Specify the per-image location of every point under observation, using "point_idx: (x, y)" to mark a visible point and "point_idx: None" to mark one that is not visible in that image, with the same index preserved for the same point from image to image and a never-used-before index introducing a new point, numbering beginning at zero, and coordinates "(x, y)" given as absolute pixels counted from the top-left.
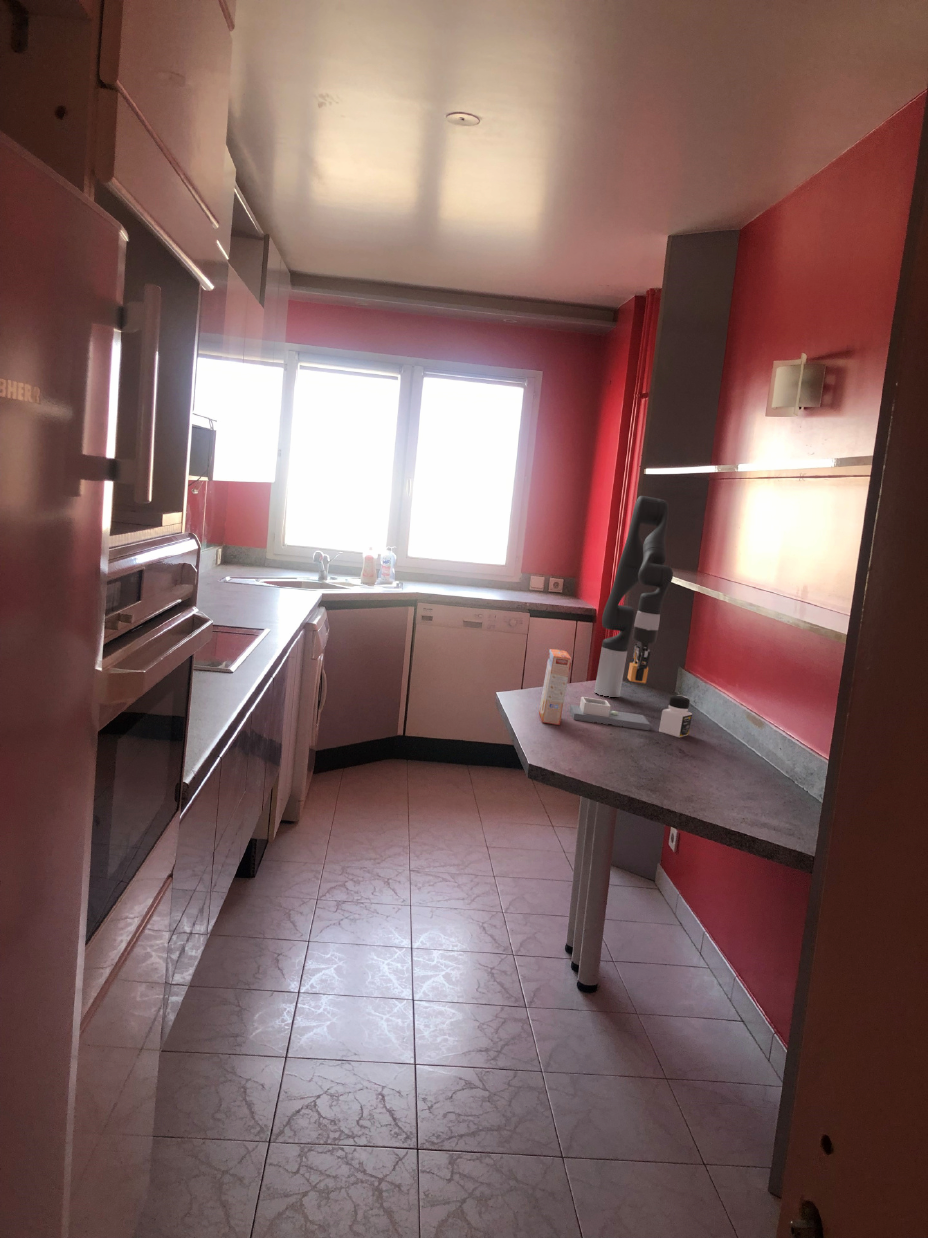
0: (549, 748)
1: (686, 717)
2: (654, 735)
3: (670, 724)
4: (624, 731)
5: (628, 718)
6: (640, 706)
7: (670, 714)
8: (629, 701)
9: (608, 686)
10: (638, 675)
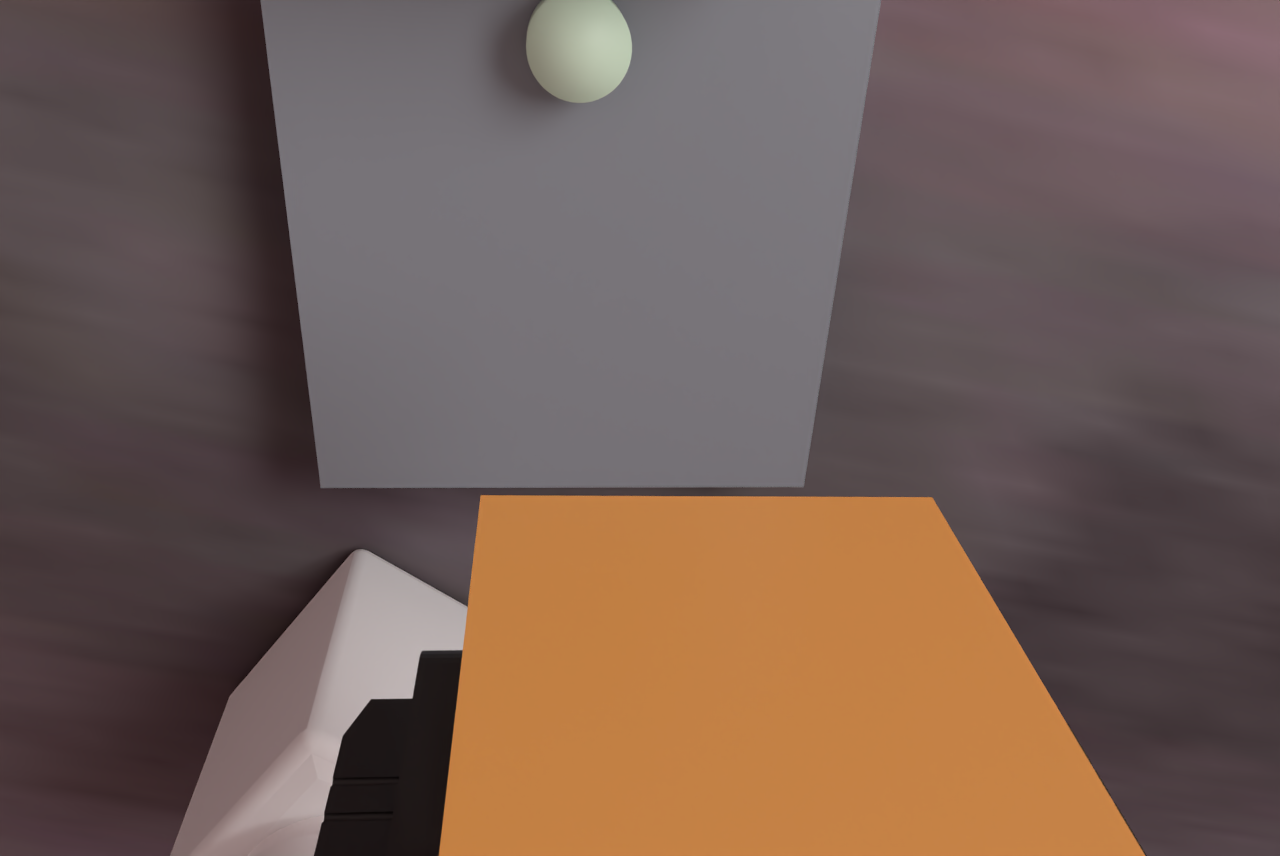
0: None
1: None
2: (119, 461)
3: (263, 701)
4: (7, 80)
5: (473, 245)
6: None
7: (243, 783)
8: None
9: None
10: (328, 807)
